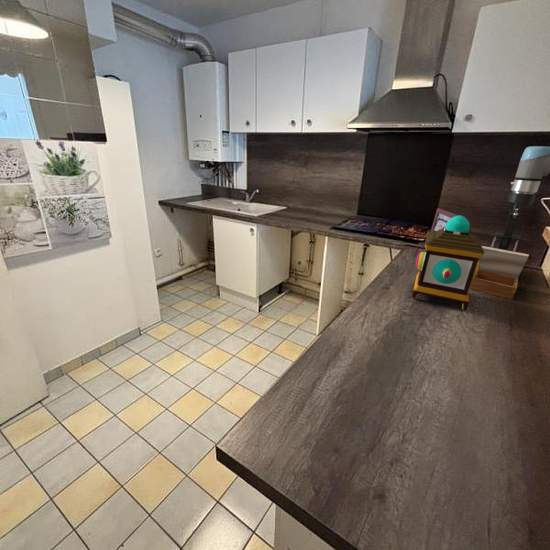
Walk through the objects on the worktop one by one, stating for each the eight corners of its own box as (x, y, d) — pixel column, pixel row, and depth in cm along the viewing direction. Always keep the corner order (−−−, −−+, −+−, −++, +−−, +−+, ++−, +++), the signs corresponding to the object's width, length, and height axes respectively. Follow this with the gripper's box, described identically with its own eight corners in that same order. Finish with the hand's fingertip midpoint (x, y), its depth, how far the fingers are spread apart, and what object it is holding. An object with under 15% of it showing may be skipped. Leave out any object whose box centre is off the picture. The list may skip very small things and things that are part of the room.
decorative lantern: (406, 299, 105) (426, 216, 93) (411, 280, 121) (428, 207, 109) (471, 314, 97) (501, 225, 85) (467, 291, 113) (492, 214, 101)
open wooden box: (512, 299, 107) (516, 288, 105) (463, 287, 116) (467, 276, 114) (513, 288, 117) (518, 277, 115) (469, 277, 126) (472, 267, 124)
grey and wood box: (528, 256, 104) (535, 234, 106) (477, 247, 113) (484, 227, 115) (518, 276, 115) (524, 256, 118) (472, 266, 124) (479, 248, 126)
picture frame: (423, 257, 149) (435, 208, 139) (442, 258, 148) (456, 208, 138) (439, 269, 133) (453, 215, 123) (460, 270, 133) (477, 216, 123)
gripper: (511, 189, 114) (491, 247, 123) (508, 193, 103) (487, 255, 112) (535, 191, 109) (513, 251, 119) (536, 195, 98) (511, 260, 108)
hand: (501, 253), depth 115 cm, fingers closed on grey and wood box, 2 cm apart
